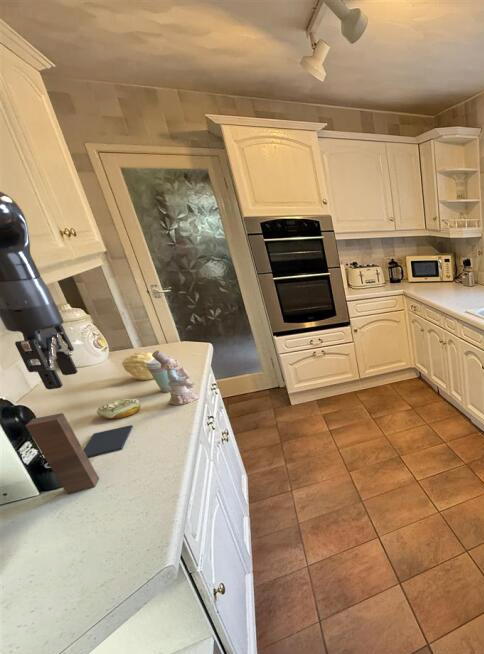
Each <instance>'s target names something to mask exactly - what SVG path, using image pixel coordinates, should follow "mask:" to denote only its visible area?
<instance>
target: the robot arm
mask: <svg viewBox="0 0 484 654" xmlns="http://www.w3.org/2000/svg"><path fill="white" fill-rule="evenodd" d="M27 222H28V221H27V220H26V216H25V214H24V212H23V210H22V208H21V207H20V206H19V205H18V203H17V201H15V200H14V199H13V198H11V196H9V195H8V194H6V193H5V192H2V191H0V321H2V324H3V326H4V327H5V330H7V331H10V332H17V333H18V332H19V333H21V334H22V337H23V340H17V341H15V342H14V344H15V347H16V349H17V351H18V353H19V355H20V357H21V359H22V362H23V363H24V366H25V368H26V370H27V372H28V373H37V374H38V376H39V378H40V380H41V382H42V383H43V385H44V387H45V389H46V390H55V389H56V390H57V389H60V388H62V387H63V385H64V384H63V382H62V380H61V378H60V376H59V375H58V372H57V370H56V369H55V363H54V361H55V362H56V364H57V366H58V369H59V370H60V373H61V374H62V375H63V376H72V375H76V374H77V373H78V372H79V370H78V369H77V366H76V364H75V363H74V360H73V358H72V356H73V352H74V347H73V344H72V342H71V340H70V338H69V337H68V335H67V332H66V330H65V329H64V326H63V324H64V319H63V317H62V315H61V313H60V311H59V308H58V306H57V304H56V301H55V300H54V297H53V295H52V293H51V291H50V289H49V287H48V285H47V283H46V282H45V281H44V279H43V277H42V276H41V273H40V271H39V269H38V267H37V264H36V262H35V261H34V258H33V257H32V254H31V242H30V241H31V240H30V234H29V228H28V223H27Z"/></svg>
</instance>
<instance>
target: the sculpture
mask: <svg viewBox="0 0 484 654" xmlns="http://www.w3.org/2000/svg"><path fill="white" fill-rule="evenodd" d="M153 353H154V352H149V351H147V352H134V354H131V355H130V356H127V357H125V358H124V359H123V361H122V363H121V365H122V367H123V369H124V371H126V372H127V373H129V374H130V376H132V377H133V378H135V379H137V380H141V381H146V380H147V381H149V380H152V379H154V378H153V376H152V374H151V373H150V371H149V369H147V368H146V362H147V361H149V360H151V359H155V358H154V357H153V356H152V354H153Z"/></svg>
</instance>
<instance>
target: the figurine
mask: <svg viewBox="0 0 484 654" xmlns="http://www.w3.org/2000/svg"><path fill="white" fill-rule="evenodd" d="M152 353H153V354H152V356H153V357H154V358H155V359H156V360H157V361H158V362H159V363H161V368H162V369H164V370H167V376H168V379H169V382H168V385H169V386H170V387H171V388H172V390H170V392H169V394H170V398H169V401H168V404H171V405H175V406H176V405H179V406H180V405H186V404H189V403H192V402H194V401H196V400H197V399H199V395H198V394H197V393H196V392H194V391H192V390H191V389H193V388H194V385H196V382H194V381H190V379H191V378H192V377H191V374H190V372H189V370H187V368H186V367H184V366H182V367H180V368H177V367H179V366H180V365H181V364H180V362H179V361H178V359H174V357H172V356H168V355H167V354H165V353H164V352H162V351H160V350H155V351H154V352H152ZM173 359H174V360H173ZM176 369H177V370H176Z"/></svg>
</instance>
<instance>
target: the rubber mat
mask: <svg viewBox="0 0 484 654" xmlns="http://www.w3.org/2000/svg"><path fill="white" fill-rule="evenodd" d="M132 429H133V424H130V425H125V426H120V427H118V428H112V429H108V430H103V431H99V432H95V433H93V434H92V436H91V437H90V439H89V440H88V441H87V443H86V445H85V446H84V448H83V450H84V452H85V454H86V455H87V457H88V459H90V458H92V457H97V456H101V455H105V454H109V453H112V452H117V451H120V450H123V449H124V447H125V444H126V442H127V440H128V438H129V436H130V434H131V431H132Z"/></svg>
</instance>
